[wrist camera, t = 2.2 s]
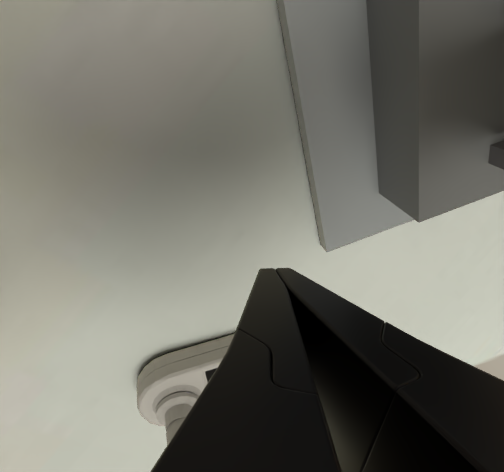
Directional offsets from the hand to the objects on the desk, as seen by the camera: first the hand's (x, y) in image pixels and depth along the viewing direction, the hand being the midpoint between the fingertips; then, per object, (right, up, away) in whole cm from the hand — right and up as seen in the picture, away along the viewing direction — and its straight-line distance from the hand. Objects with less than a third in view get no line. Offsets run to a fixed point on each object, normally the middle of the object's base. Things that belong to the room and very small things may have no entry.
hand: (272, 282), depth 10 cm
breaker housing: (+10, +11, +11) cm, 19 cm away
